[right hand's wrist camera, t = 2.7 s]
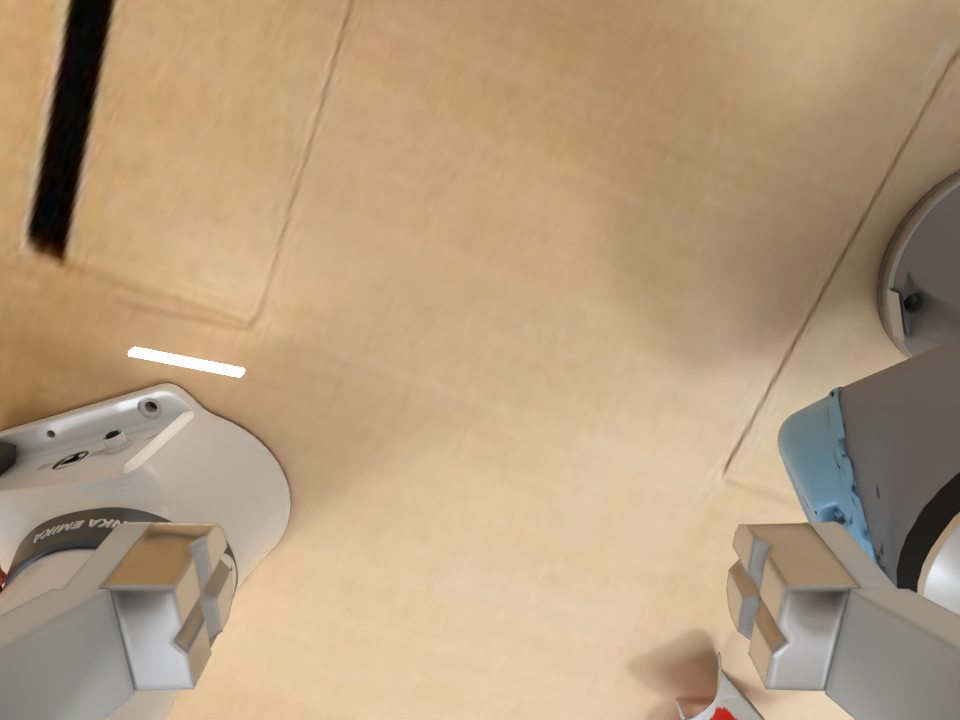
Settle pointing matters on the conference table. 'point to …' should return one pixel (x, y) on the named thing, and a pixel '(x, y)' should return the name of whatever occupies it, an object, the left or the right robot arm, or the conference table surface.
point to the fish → (726, 703)
